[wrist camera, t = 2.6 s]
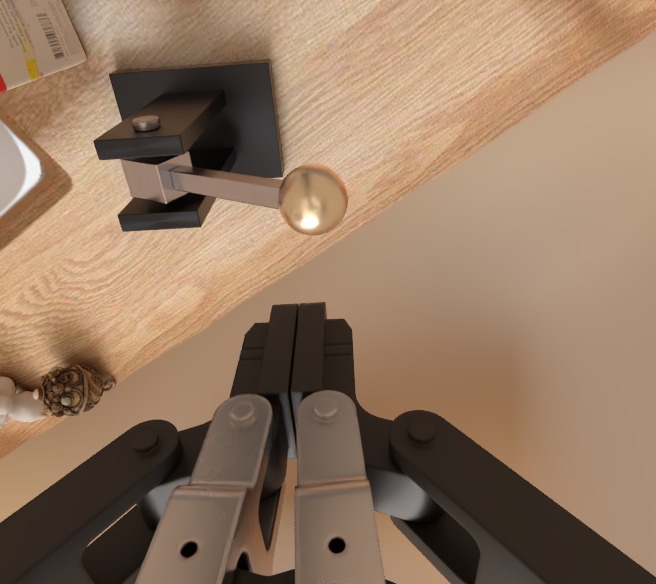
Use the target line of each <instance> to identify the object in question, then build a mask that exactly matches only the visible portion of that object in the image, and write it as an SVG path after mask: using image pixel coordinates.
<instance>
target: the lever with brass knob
mask: <svg viewBox="0 0 656 584" xmlns="http://www.w3.org/2000/svg"><path fill="white" fill-rule="evenodd" d="M121 163H122V166H123V170H124V173H125V176H126V179H127V183H128V186H129V189H130V193H131V196H132V197H134V198H139V199H144V200H148V201H153V202H158V203H163V204H168V203H170V202H172V201H174V200H176V199H178V198H180V197H182V196H184V195H186V194H188V193H194V194H199V195H204V196H210V197H215V198H221V199H226V200H232V201H237V202H242V203H248V204H253V205H259V206H264V207H270V208H275V209H279V210H280V213H281V216H282V217H283V219H284V221H285V222H286V223H287V224H288V225H289V226H290V227H291V228H292V229H294V230H295V231H297V232H300V233H302V234H306V235H320V234H324V233H326V232H328V231H330V230H332V229H333V228H335V227H336V226H337V225H338V224H339V223H340V221H341V220H342V218H343V217H344V215H345V212H346V209H347V204H348V196H347V191H346V187H345V185H344V183H343V181H342V179H341V178H340V177H339V176H338V175H337V174H336V173H335V172H334V171H333V170H331V169H330V168H328V167H325V166H322V165H318V164H307V165H303V166H300V167H298V168H296V169H294V170H293V171H291V172H290V173H289V174H288V175H287V176H286V177H285V178H284V180H277V179H270V178H263V177H257V176H250V175H243V174H237V173H230V172H223V171H217V170H210V169H203V168H197V167H192V163H191V159H190V154H189V151H187V152H186V153H185V154H184V155H172V156H157V157H141V158H126V159H121Z"/></svg>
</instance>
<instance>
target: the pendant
mask: <svg viewBox="0 0 656 584" xmlns="http://www.w3.org/2000/svg"><path fill="white" fill-rule="evenodd" d="M41 381H42V382H43V383H42V385H41V386H40V388H37V389H35V390H34V392H33V397H34V399H35V400H40V401H43V403H42V404H43V405H44V406H45V407H44V413H46V412H53V413H52V414H51V415H52V416H56V417H61V416H64V415H68V416H77V415H79V414H80V413H82V412H86V411H88V410H90V409H91V408H93V407H94V405H96V404H97V403H98V402H99V400H100V397H101V396H102V394H103V392H109V391H111V390H112V389H113V388H115V386H116V383H115V381H112V380H109V381H106V382H103V379H101V376H100V375H99V373H98V372H97V371H96V370H94V369H93V368H91V367H89V366H85V365H77V364H75V365H69V366H67V367H65V368H62V367H54V368H52V369H51V371H50V372H49V373H48V374H45V376H42V377H41ZM108 384H112V386H111V387H109V388H107V389H105V388H104V387H105V386H106V385H108Z"/></svg>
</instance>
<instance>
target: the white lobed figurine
mask: <svg viewBox="0 0 656 584" xmlns="http://www.w3.org/2000/svg"><path fill="white" fill-rule="evenodd" d="M42 403H43V401H40V400H35V399H34V397H33V392H31V391H24V392H21V393H19V394H16V388H15V385H14V382H13V381H12V380H11V379H10V378H8V377H0V429H1V428H2V427H3V426H4V425H5V423H7V422H8V420H9V418H10V416H11V417H12V418H14V419H15V420H17V421H22V422H33V421H36V420H39V419H41V418H45V417H48V414H45V413H44V407H45V406H44V405H43V404H42Z"/></svg>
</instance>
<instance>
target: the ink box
mask: <svg viewBox="0 0 656 584" xmlns="http://www.w3.org/2000/svg"><path fill="white" fill-rule="evenodd" d="M86 59H87V58H86V54H85V52H84V50H83V48H82V45H81V43H80V41H79V39H78V36H77V34H76V32H75V30H74V27H73V25H72V23H71V21H70V18H69V16H68V14H67V12H66V9H65V7H64V5H63V3H62V0H0V94H1V93H4V92H5V91H7V90H10V89H13V88H15V87H18V86H21V85H23V84H26V83H29V82H31V81H34V80H37V79H40V78H42V77H45V76H48V75H50V74H53V73H56V72H58V71H61V70H64V69H67V68H70V67H73V66H76V65H78V64H80V63H82V62H84V61H85V60H86Z"/></svg>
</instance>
